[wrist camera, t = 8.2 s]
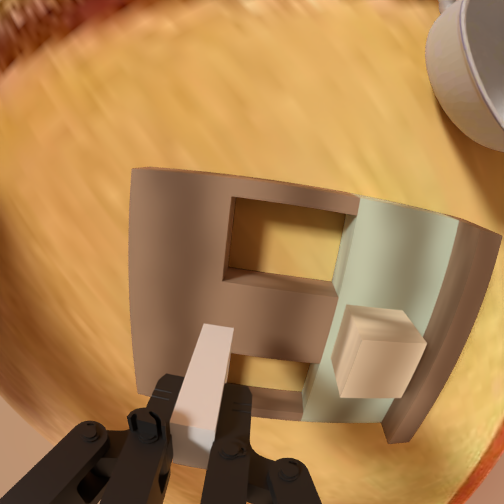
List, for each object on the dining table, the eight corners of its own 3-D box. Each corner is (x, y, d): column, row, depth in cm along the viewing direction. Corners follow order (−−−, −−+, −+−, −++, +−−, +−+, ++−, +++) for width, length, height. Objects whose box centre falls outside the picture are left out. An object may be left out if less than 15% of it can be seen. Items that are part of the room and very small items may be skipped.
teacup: (527, 143, 16) (595, 149, 8) (434, 169, 17) (509, 181, 10) (468, -10, 12) (518, -45, 5) (361, -12, 14) (396, -74, 6)
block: (330, 357, 19) (340, 397, 15) (346, 304, 18) (362, 339, 14) (383, 360, 19) (401, 397, 15) (402, 310, 18) (427, 343, 14)
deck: (147, 375, 24) (126, 414, 19) (148, 166, 19) (111, 171, 14) (393, 402, 23) (408, 442, 18) (461, 218, 18) (502, 235, 13)
